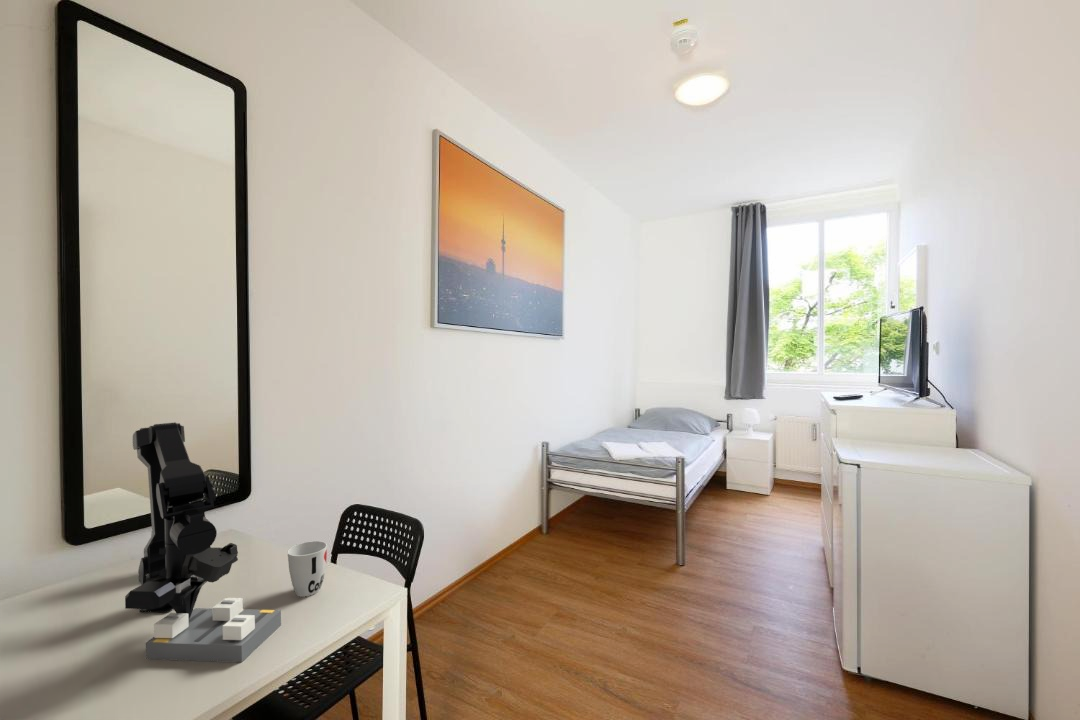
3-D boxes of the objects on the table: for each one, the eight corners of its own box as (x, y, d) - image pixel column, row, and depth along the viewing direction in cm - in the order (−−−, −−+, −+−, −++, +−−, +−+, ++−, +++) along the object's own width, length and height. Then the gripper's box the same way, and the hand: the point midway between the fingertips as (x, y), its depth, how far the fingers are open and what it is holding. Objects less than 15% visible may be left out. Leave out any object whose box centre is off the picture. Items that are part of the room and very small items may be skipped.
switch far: (222, 639, 81) (222, 624, 81) (236, 627, 84) (236, 613, 84) (241, 640, 81) (241, 624, 81) (254, 628, 84) (254, 613, 84)
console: (145, 659, 81) (145, 641, 81) (196, 622, 92) (195, 607, 92) (241, 662, 80) (241, 644, 80) (281, 625, 91) (280, 609, 91)
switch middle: (212, 620, 87) (212, 606, 87) (226, 610, 90) (226, 596, 90) (229, 620, 87) (229, 606, 87) (242, 610, 90) (242, 596, 90)
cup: (311, 602, 99) (310, 557, 99) (279, 598, 101) (279, 554, 101) (335, 583, 107) (334, 542, 107) (305, 580, 109) (304, 539, 109)
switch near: (154, 637, 82) (153, 622, 82) (171, 626, 85) (170, 611, 85) (172, 638, 81) (172, 622, 81) (188, 626, 85) (188, 611, 85)
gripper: (183, 561, 76) (185, 652, 77) (258, 521, 95) (259, 594, 95) (121, 560, 77) (123, 651, 77) (207, 520, 96) (208, 593, 96)
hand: (185, 619), depth 86 cm, fingers closed
